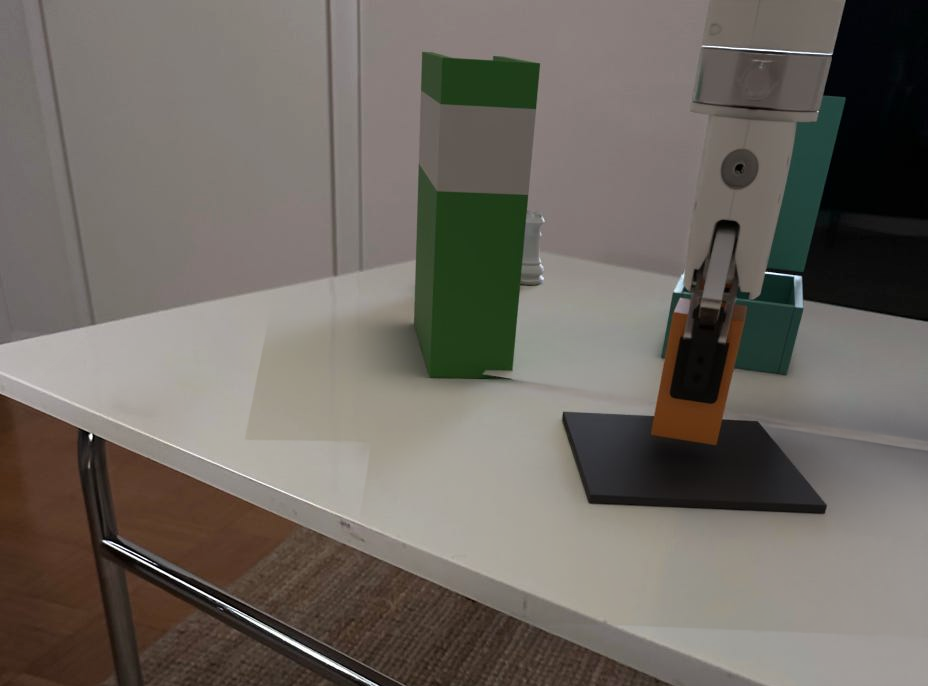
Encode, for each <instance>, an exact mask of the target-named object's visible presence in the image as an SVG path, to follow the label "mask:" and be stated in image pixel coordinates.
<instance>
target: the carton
mask: <svg viewBox="0 0 928 686" xmlns="http://www.w3.org/2000/svg"><path fill="white" fill-rule="evenodd" d="M690 303H691V299H686V298H680V299H679V301H678V303H677V306H676V308H675V310H674V312H673V317H672V322H671V328H670V333H669V338H668V344H667V349H666V355H665V359H664V361H663V367H662V370H661V377H660V382H659V388H658V392H657V398H656V403H655V408H654V409H655V410H654V415H653V416H654V420H653V425H652V430H651V435H655V436H661V437H667V438H674V439H680V440H686V441H692V442H699V443H705V444H711V445H717V440H718V436H719V431H720V427H721V423H722V419H724V413H725V409H726V404H727V400H728V396H729V392H730V387H731V383H732V378H733V374H734V370H735V368H734V365H735V361H736V357H737V352H738V348H739V343H740V339H741V335H742V330H743V326H744V321H745V315H746V309H747V306H742V305H734V308H733V312H732V317H731V321H730V326H729V330H728V335H727V339H726V343H730V344H729V349H728V353H727V358H726V362H725V367H724V371H723V376H722V380H721V385H720V389H719V394H718V398H717V401H716V402H715V403H713V404H708V403H702V402H695V401H688V400H682V399H675V398H672V397H671V396H670V388H671V383H672V377H673V372H674V367H675V362H676V357H677V351H678V346H679V341H680V337H684V332H685V327H686V322H687V317H688V312H689V307H690ZM699 304H701V300H700V301H699ZM721 307H724V310H725V307H726V303H722V304H721ZM720 330H721V326H720ZM719 333H720V331H719ZM718 339H719V338H718ZM717 342H718V341H717Z"/></svg>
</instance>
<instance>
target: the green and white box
mask: <svg viewBox="0 0 928 686" xmlns="http://www.w3.org/2000/svg"><path fill="white" fill-rule="evenodd" d="M540 70H541V63H540V62H536V61H529V60H524V59H519V58H514V57H509V56H502V55H493V56H492V59H478V58H477V59H475V58H460V57H452V56H447V55H445V54H441V53H437V52H433V51H421V73H420V75H421V78H420V105H419V106H420V107H419V108H420V109H419V110H420V111H419V116H420V117H419V139H418V140H419V141H418V145H419V146H418V174H417V175H418V177H417V178H418V179H417V204H416V205H417V210H416V212H417V213H416V239H415V240H416V245H415V272H414V273H415V275H414V277H415V278H414V307H413V308H414V309H413V325H414V329H415V332H416V336H417V340H418V344H419V346H420V350H421V353H422V356H424V357H423V360H424V363H426V364H425V367H426V371H427V374H428V373H429V374H428V376H429V378H430V377H431V378H433V379H434V378H435V377H437V378H439V379H492V378H493V379H497V380H499V379H500V380H504V379H505V380H511V379H513V378H510V377H505V376H497V375H489V374H485V372H486V371H512V372H513V369H514V358H515V348H516V337H517V336H516V335H517V334H516V333H517V325H518V315H519V314H518V313H519V304H520V292H521V291H520V290H521V284H520V282H521V271H522V260H523V249H524V238H525V227H526V216H527V210H528V204H529V203H528V202H529V193H530V182H531V172H532V171H531V170H532V161H533V160H532V159H533V150H534V149H533V148H534V139H535V137H534V136H535V126H536V115H537V104H538V94H539V93H538V92H539V84H540V83H539V81H540ZM493 379H492V380H493Z"/></svg>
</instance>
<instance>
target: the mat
mask: <svg viewBox="0 0 928 686" xmlns="http://www.w3.org/2000/svg"><path fill="white" fill-rule="evenodd" d="M561 419H562V421H563V425H564V428H565V431H566V434H567V437H568V441H569V444H570V446H571V449H572V452H573V456H574V459H575V462H576V465H577V468H578V471H579V472H578V473H579V475H580V478H581V481H582V483H583V484H582V485H583V487H584V490H585V493H586V496H587V500H588V502H589V503H590V504H592V503H593V504H613V505H614V504H615V505H634V506H635V505H637V506H658V507H660V506H661V507H677V508H678V507H680V508H681V507H682V508H703V509H704V508H705V509H725V510H746V511H747V510H748V511H767V512H768V511H771V512H775V511H776V512H791V513H793V512H794V513H815V514H818V513H819V514H826V511H827V509H828V504H827V503H826V501H824V499H822V497H821V496H820V495H819V494H818V492H817V491H816V490H815V489H814V488H813V486H812V485H811V484H810V483H809V481H808V480H807V479H806V478H805V477H804V475H803V474H802V473H801V471H800V470H799V468H797V467H796V466H795V464H794V463H793V462H792V461H791V459H790V458H789V457H788V455H787V454H786V453H785V452H784V451H783V449H781V447H780V446H779V445H778V444H777V442H776V441H775V440H774V438H773V437H772V436H771V435H770V434H769V433H768V431H767V430H766V429H765V428H764V427H763V425H762V424H761V423H760V422H759V421H758V420H747V419H745V420H744V419H724V418H722V423H721V427H720V431H719V436H718V440H717V445H711V444H705V443H699V442H692V441H686V440H680V439H674V438H667V437H661V436H655V435H651V430H652V425H653V420H654V415H643V414H625V413H624V414H622V413H621V414H620V413H602V412H581V411H580V412H579V411H562V416H561Z"/></svg>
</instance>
